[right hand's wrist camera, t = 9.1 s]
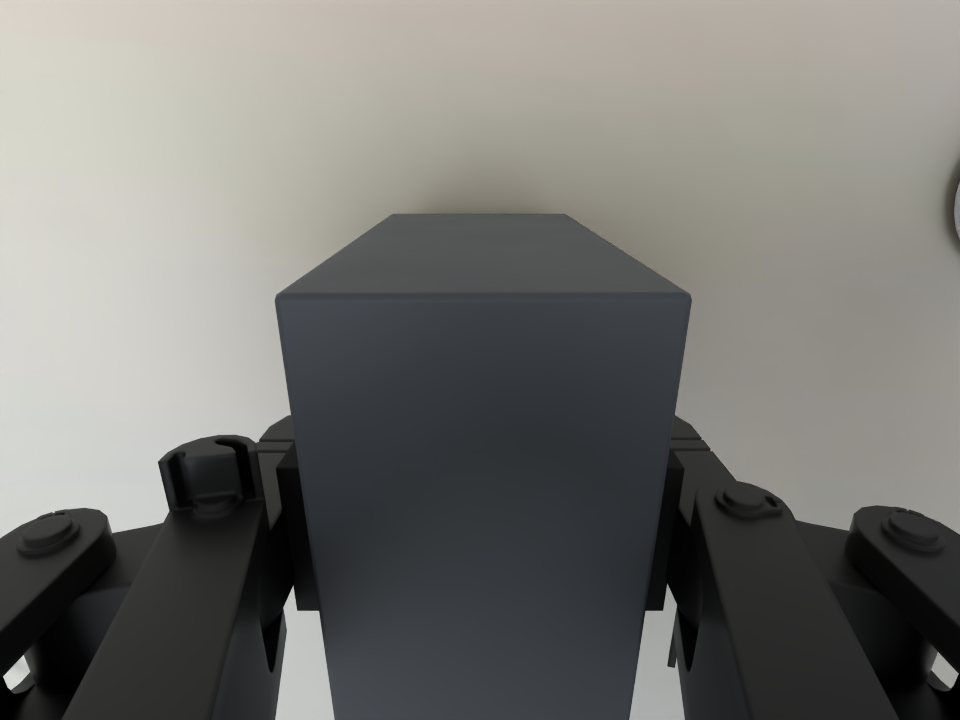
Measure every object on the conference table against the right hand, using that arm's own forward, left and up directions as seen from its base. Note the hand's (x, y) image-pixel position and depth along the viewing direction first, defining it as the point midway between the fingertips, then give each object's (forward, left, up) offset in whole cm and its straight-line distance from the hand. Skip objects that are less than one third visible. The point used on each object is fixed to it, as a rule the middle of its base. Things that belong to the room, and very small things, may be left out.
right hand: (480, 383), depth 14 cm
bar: (+4, +35, -1) cm, 35 cm away
